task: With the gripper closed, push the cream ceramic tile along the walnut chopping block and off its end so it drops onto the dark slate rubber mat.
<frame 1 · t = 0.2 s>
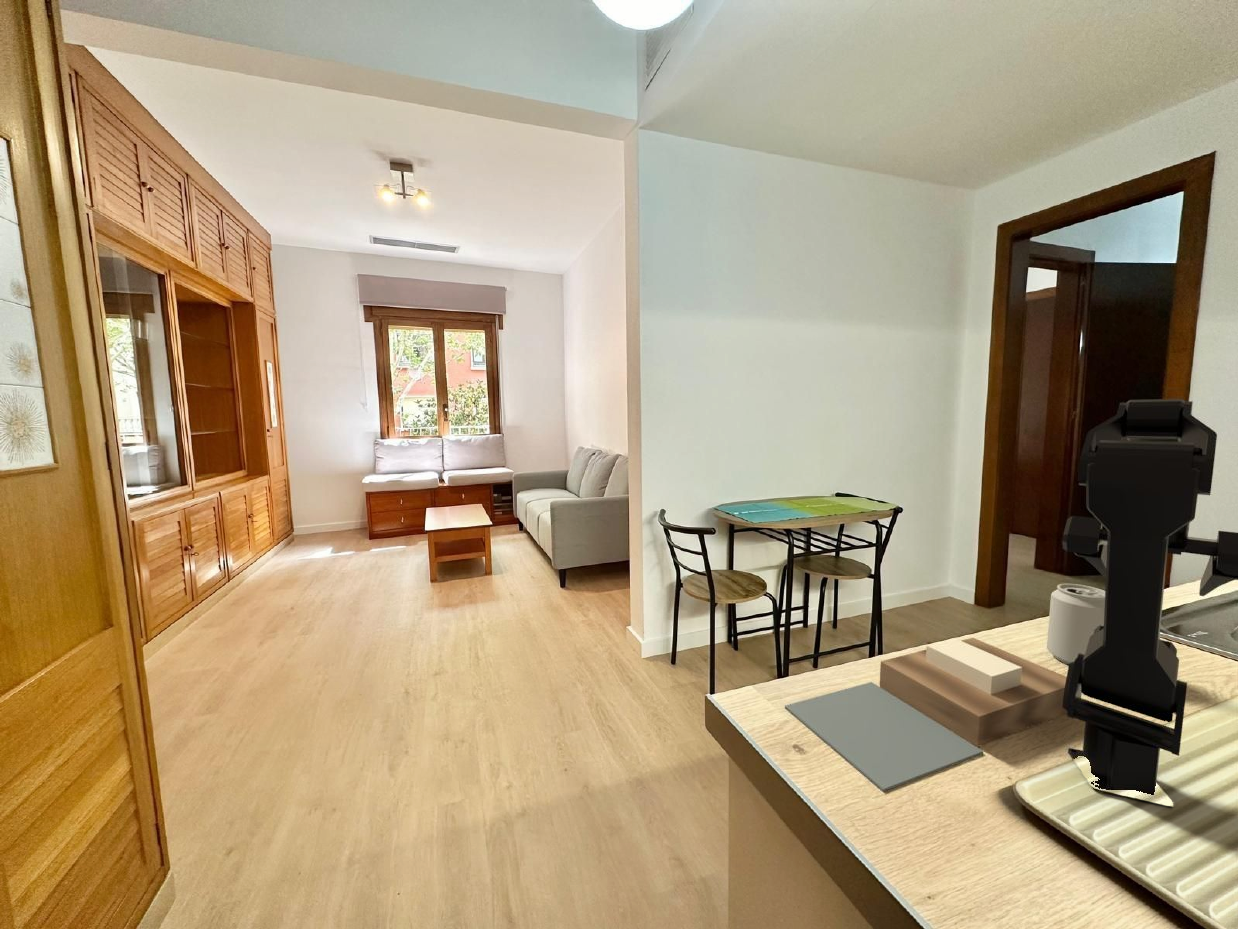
hand: (1152, 585, 71), 15 cm above the counter, tool tilted 30°, fingers open, 9 cm apart
block: (973, 697, 69), on the counter
can: (1076, 661, 78), on the counter
tile: (971, 664, 68), point 5 cm above the counter, touching block
mat: (876, 729, 62), on the counter
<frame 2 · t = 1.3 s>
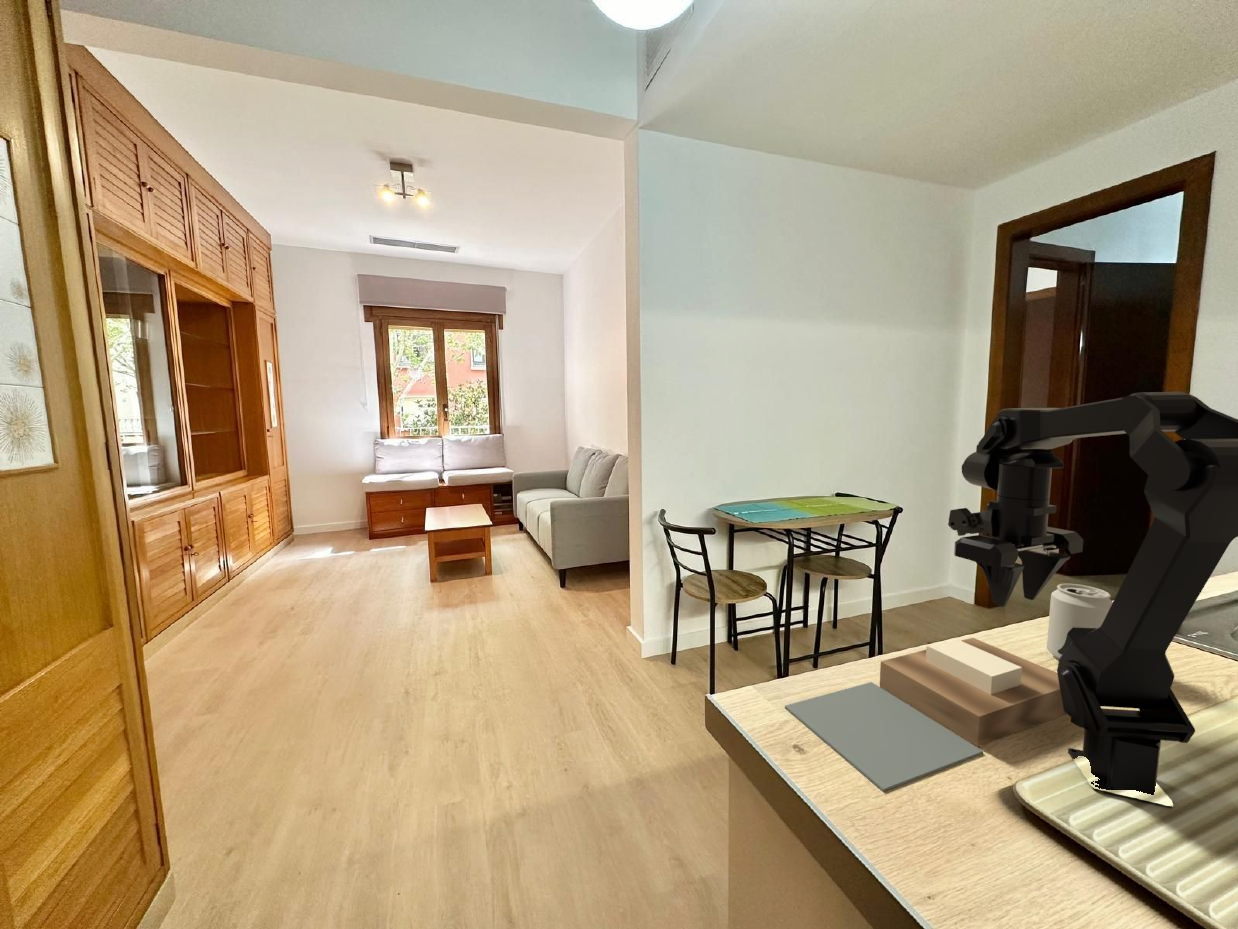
hand: (1014, 602, 70), 13 cm above the counter, tool pointing down, fingers open, 6 cm apart
nothing on the counter moved.
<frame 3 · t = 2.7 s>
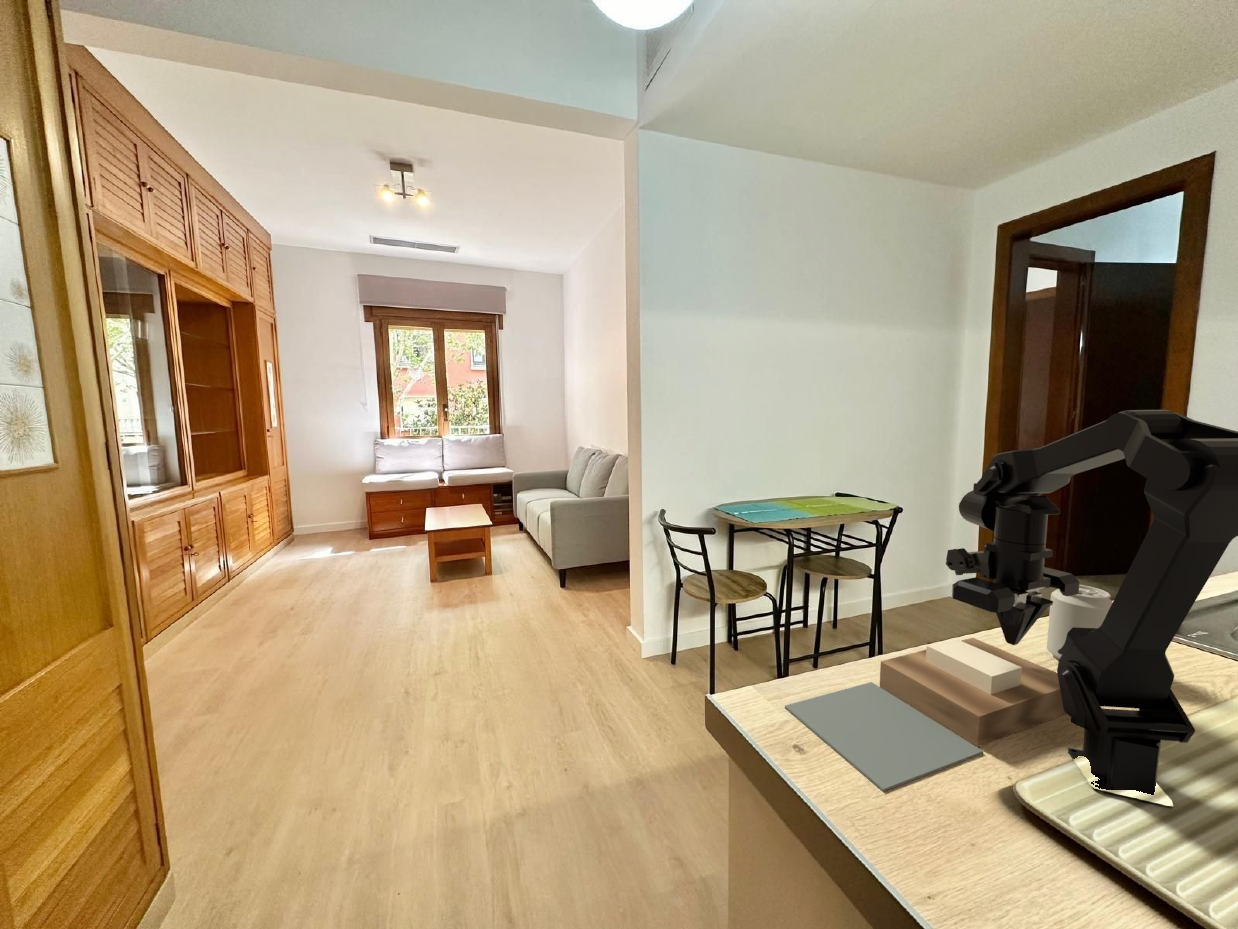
hand: (1011, 643, 70), 7 cm above the counter, tool pointing down, fingers closed
nothing on the counter moved.
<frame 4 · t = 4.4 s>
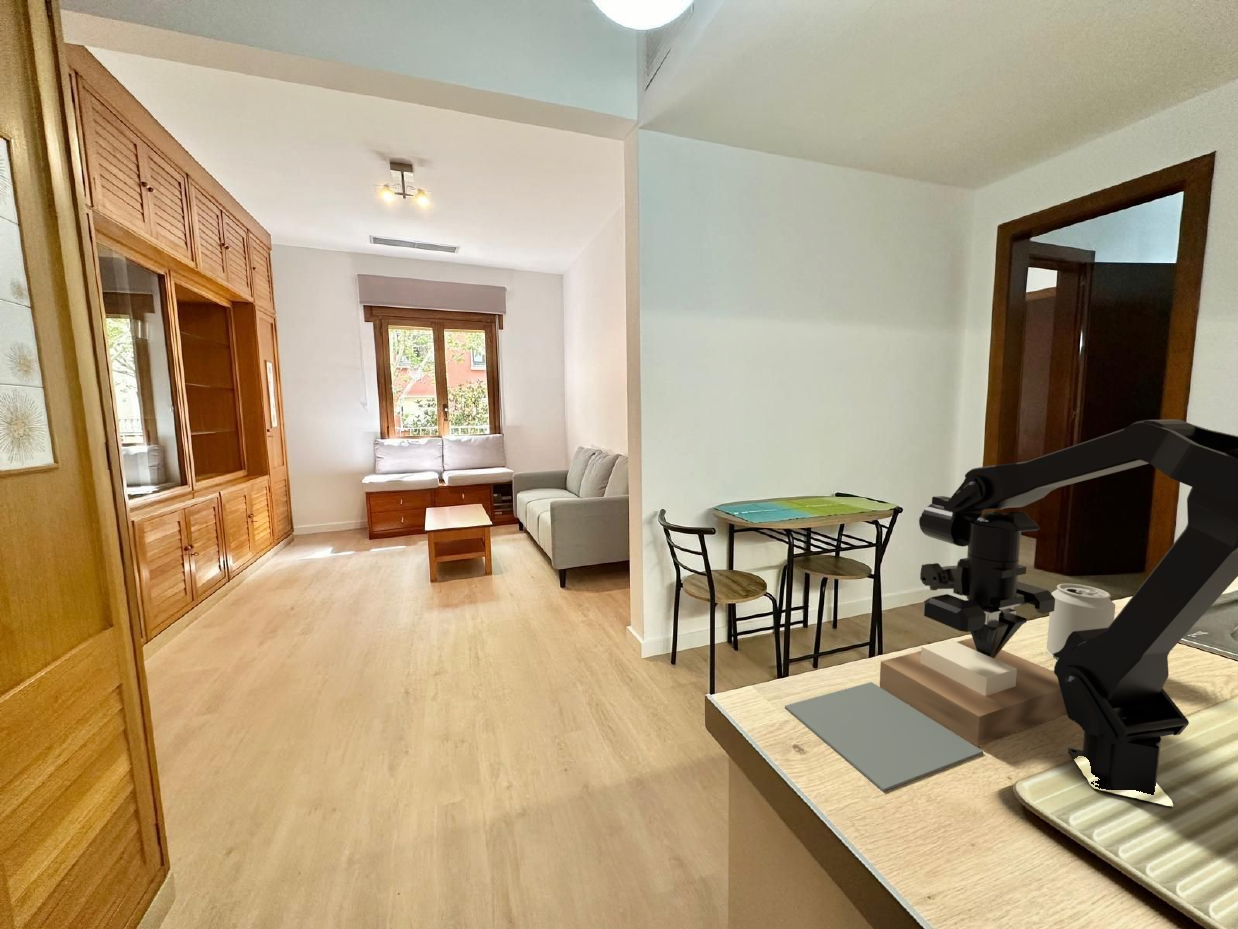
hand: (985, 661, 69), 5 cm above the counter, tool pointing down, fingers closed
tile: (966, 665, 67), point 5 cm above the counter, touching gripper
everything else where it was.
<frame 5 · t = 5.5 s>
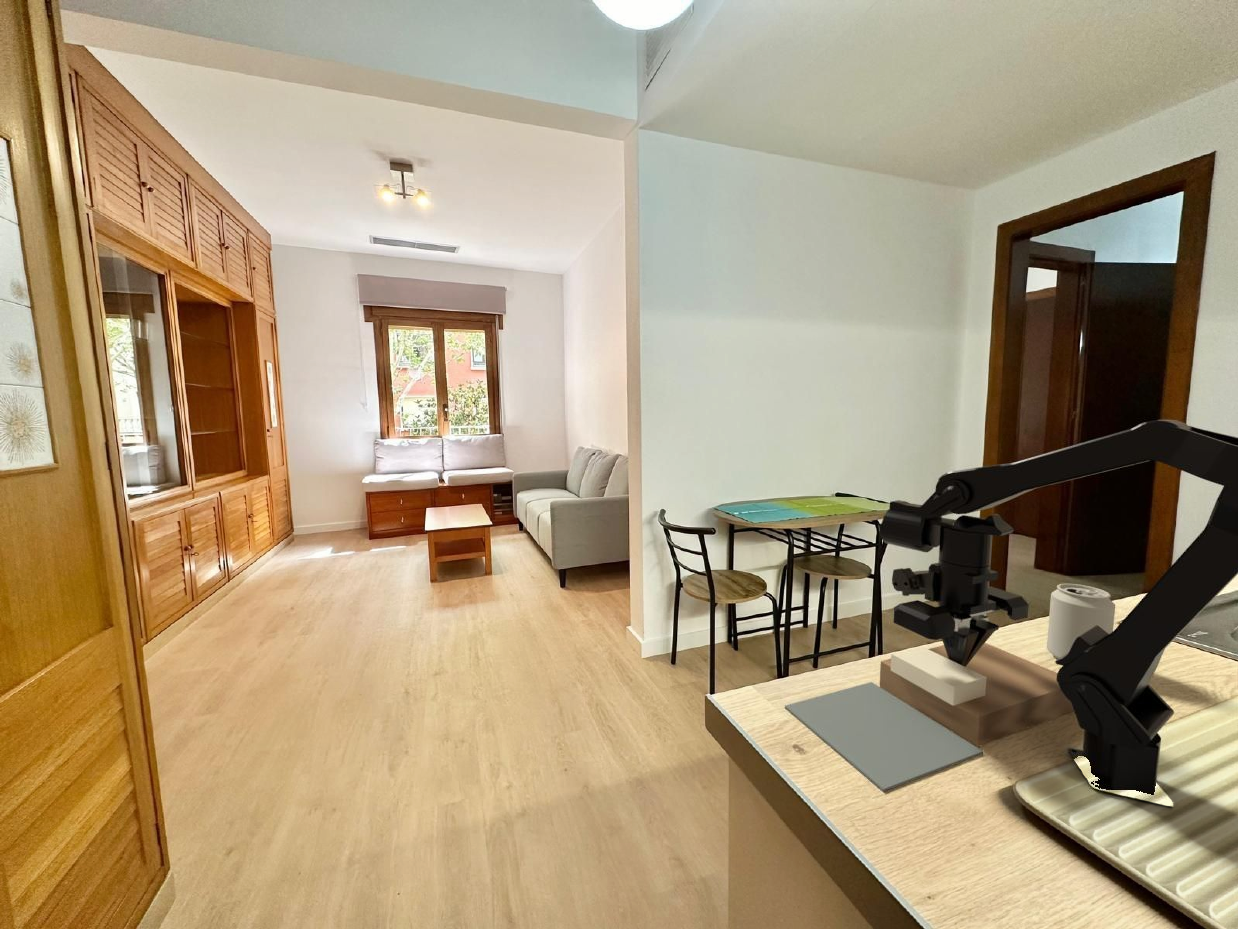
hand: (957, 669, 67), 5 cm above the counter, tool pointing down, fingers closed
tile: (936, 673, 65), point 5 cm above the counter, touching block, gripper
everything else where it was.
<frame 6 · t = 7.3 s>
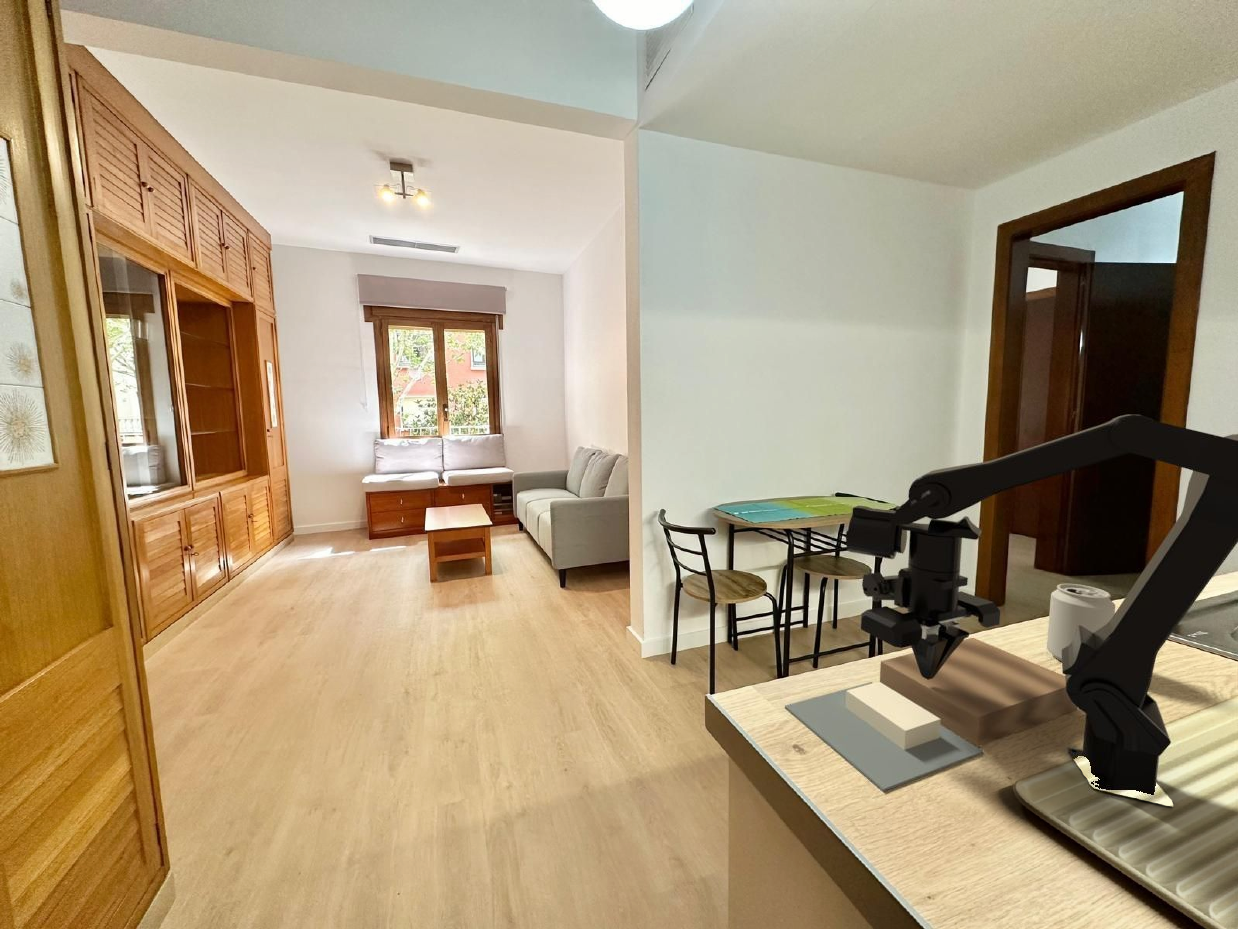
hand: (927, 677, 65), 5 cm above the counter, tool pointing down, fingers closed
tile: (890, 713, 63), point 2 cm above the counter, tilted 180°, touching mat
everything else where it was.
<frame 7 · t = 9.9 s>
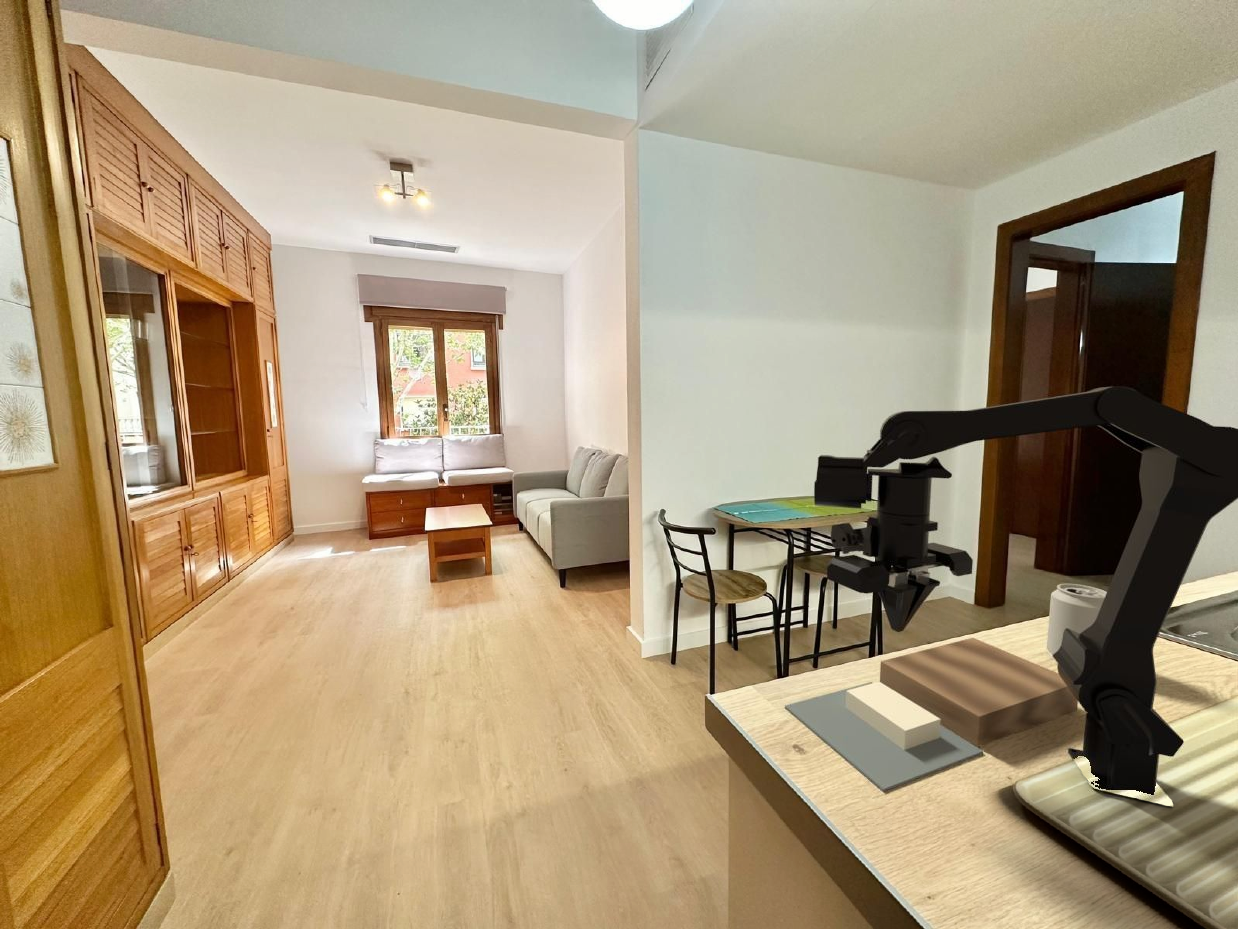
hand: (896, 630, 62), 13 cm above the counter, tool pointing down, fingers closed
nothing on the counter moved.
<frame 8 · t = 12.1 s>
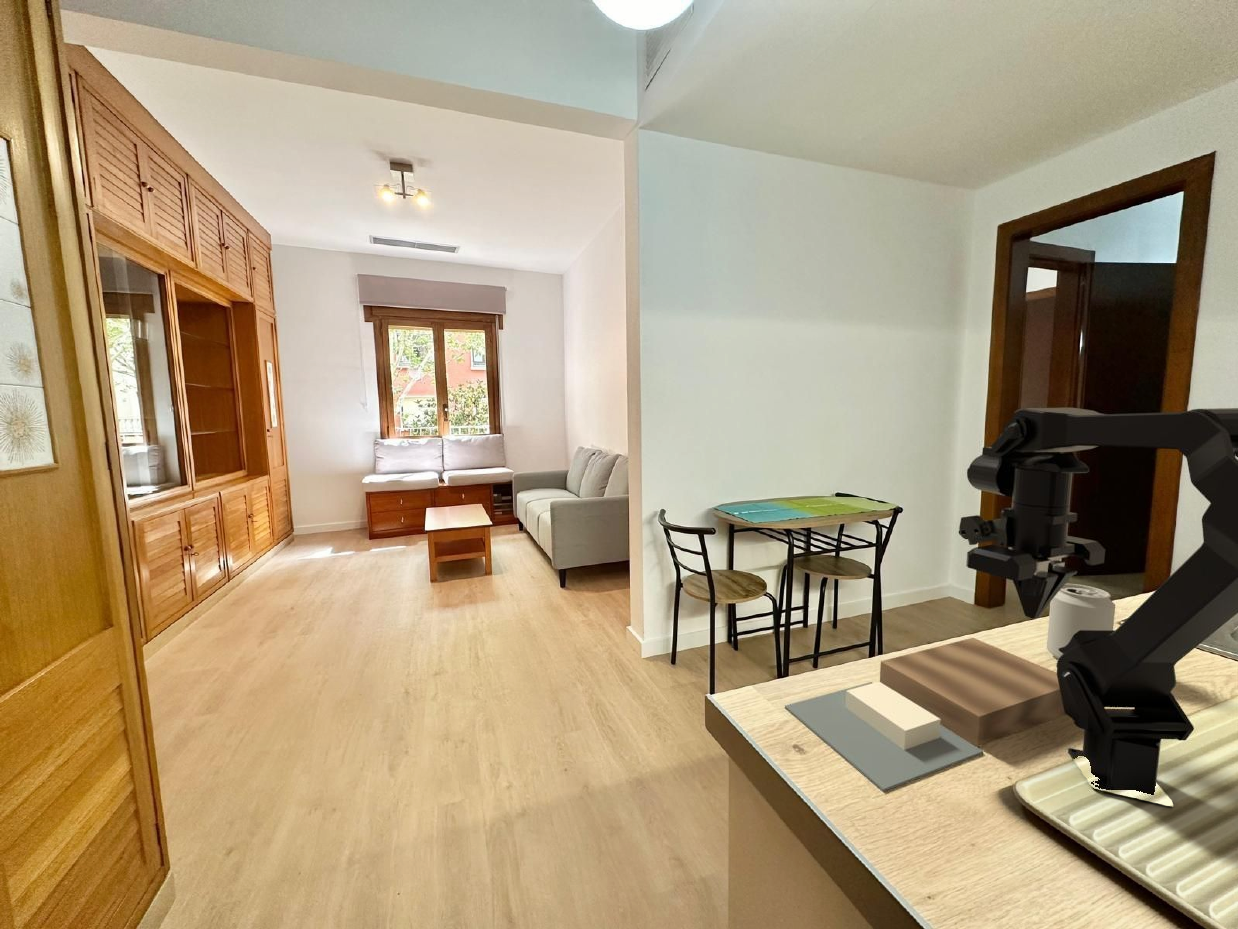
hand: (1031, 617, 65), 13 cm above the counter, tool pointing down, fingers closed
nothing on the counter moved.
at the end: tile point 1.5 cm above the counter; tile touching mat; tile 2.5 cm from the mat (horizontally) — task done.
